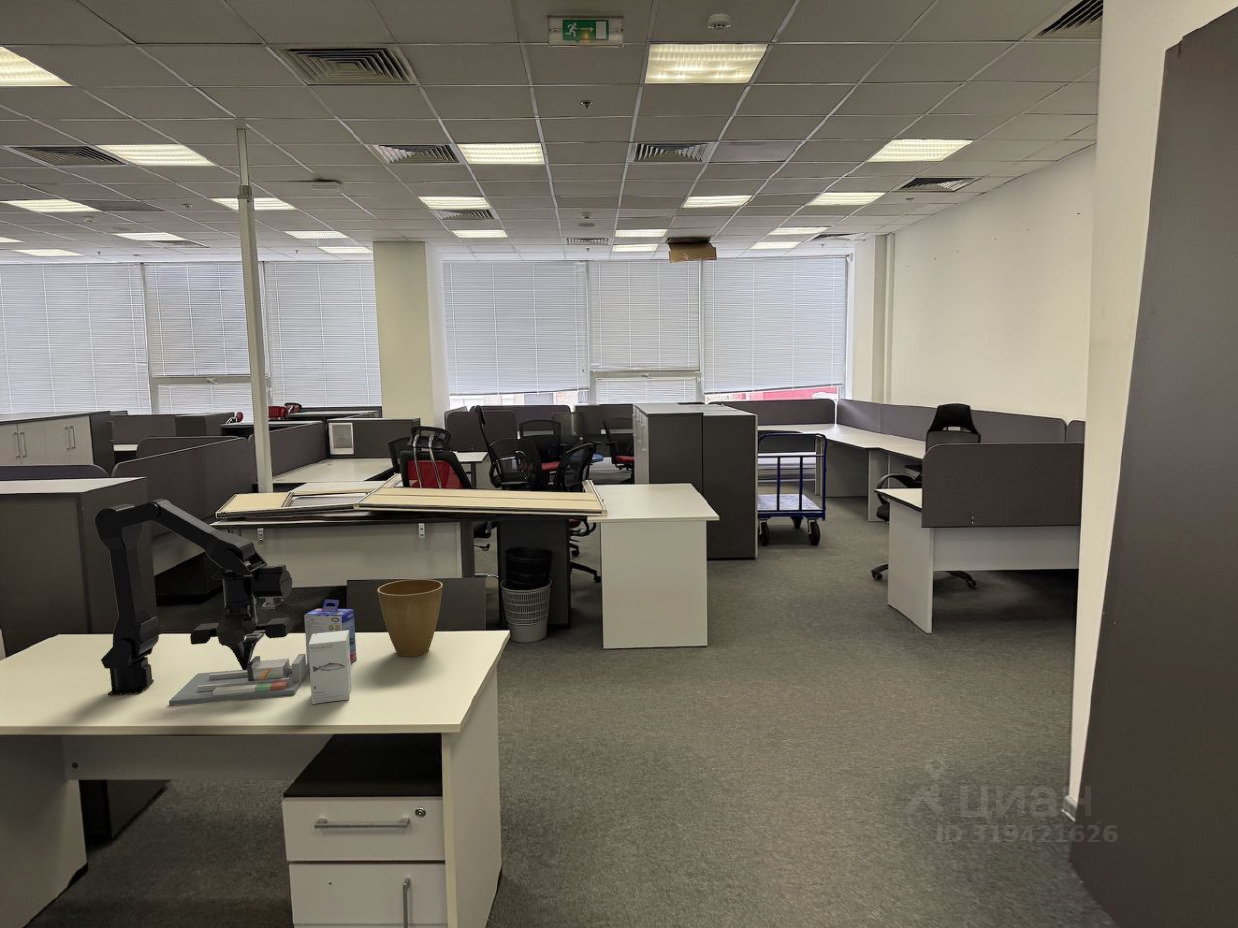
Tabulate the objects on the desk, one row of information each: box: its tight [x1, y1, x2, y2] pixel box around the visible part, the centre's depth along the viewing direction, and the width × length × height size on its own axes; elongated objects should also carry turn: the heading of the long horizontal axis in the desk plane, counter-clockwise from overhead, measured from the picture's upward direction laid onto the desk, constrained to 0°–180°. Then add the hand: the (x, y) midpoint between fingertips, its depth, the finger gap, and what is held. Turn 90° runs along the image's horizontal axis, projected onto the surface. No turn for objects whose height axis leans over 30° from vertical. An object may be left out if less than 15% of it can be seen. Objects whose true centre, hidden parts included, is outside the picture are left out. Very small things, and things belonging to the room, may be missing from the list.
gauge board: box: [168, 653, 310, 707], centre depth 160 cm, size 24×15×5 cm, turn 100°
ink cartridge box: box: [303, 599, 357, 664], centre depth 172 cm, size 10×6×14 cm, turn 78°
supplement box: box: [309, 630, 352, 705], centre depth 153 cm, size 7×7×13 cm
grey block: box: [247, 655, 291, 681], centre depth 158 cm, size 7×10×4 cm
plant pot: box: [377, 578, 444, 658], centre depth 177 cm, size 15×15×16 cm
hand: (245, 669), depth 159 cm, fingers closed
